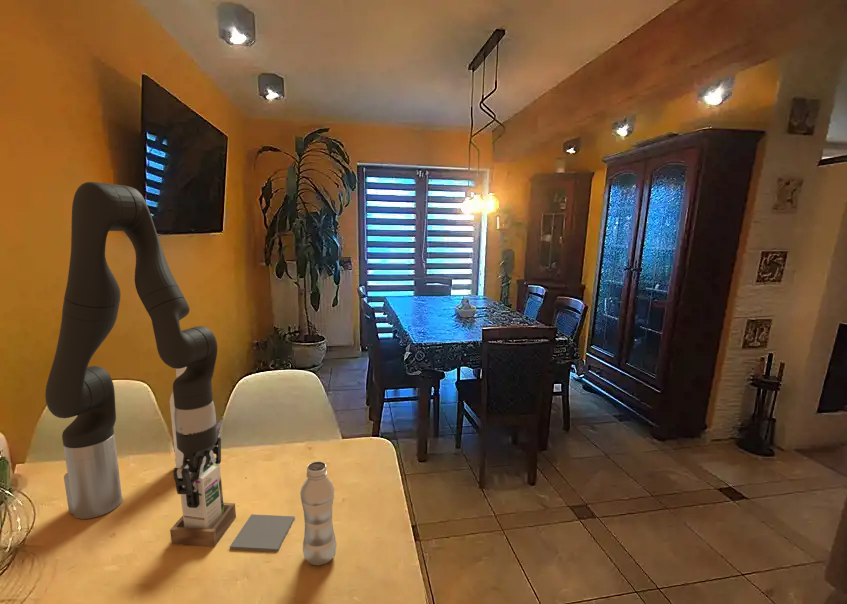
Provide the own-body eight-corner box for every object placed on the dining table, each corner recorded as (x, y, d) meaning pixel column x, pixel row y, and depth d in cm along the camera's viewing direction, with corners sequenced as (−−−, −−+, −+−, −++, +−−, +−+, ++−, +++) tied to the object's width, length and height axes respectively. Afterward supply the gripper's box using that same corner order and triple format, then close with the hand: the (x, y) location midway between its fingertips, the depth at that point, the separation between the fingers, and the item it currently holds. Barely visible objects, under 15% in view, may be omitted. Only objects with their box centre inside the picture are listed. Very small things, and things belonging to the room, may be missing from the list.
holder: (171, 544, 90) (170, 529, 90) (196, 515, 99) (195, 501, 99) (214, 546, 90) (213, 531, 89) (236, 517, 99) (235, 503, 98)
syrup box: (208, 541, 91) (203, 478, 89) (183, 537, 93) (177, 474, 90) (225, 523, 97) (221, 463, 94) (202, 519, 98) (197, 460, 95)
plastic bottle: (320, 575, 83) (317, 480, 79) (295, 560, 87) (291, 468, 83) (343, 554, 88) (341, 464, 85) (319, 541, 92) (316, 453, 88)
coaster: (229, 549, 89) (229, 546, 89) (251, 516, 99) (251, 514, 99) (277, 551, 89) (277, 549, 89) (294, 518, 99) (294, 516, 99)
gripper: (197, 408, 97) (203, 476, 100) (155, 439, 83) (164, 518, 86) (230, 409, 97) (235, 478, 100) (193, 441, 83) (200, 520, 86)
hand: (202, 496), depth 93 cm, fingers closed on syrup box, 6 cm apart
